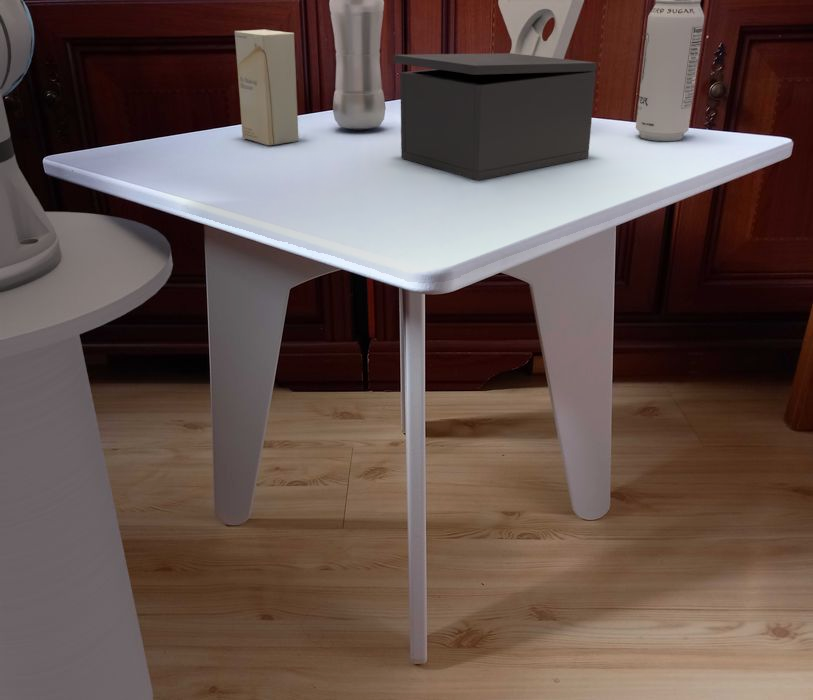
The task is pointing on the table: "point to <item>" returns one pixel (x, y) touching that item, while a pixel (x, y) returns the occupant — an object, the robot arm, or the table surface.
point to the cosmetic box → (267, 86)
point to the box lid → (494, 63)
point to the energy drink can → (669, 69)
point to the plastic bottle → (358, 63)
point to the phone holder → (540, 25)
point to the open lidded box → (495, 120)
